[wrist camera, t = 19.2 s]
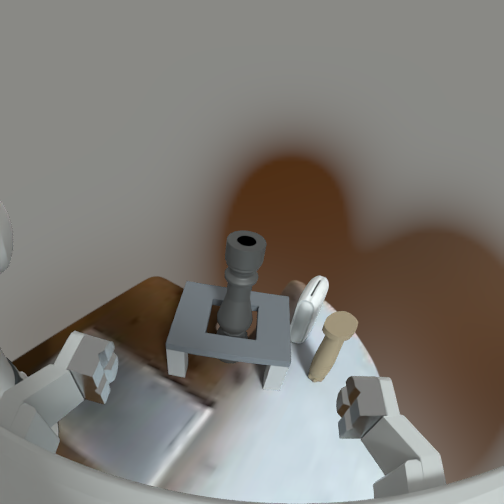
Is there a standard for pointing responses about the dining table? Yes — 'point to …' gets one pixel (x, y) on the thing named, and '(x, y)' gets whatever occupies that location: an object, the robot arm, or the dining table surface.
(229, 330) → the candle holder
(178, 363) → the hole stand
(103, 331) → the dining table surface
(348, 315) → the handle
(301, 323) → the photo printer
